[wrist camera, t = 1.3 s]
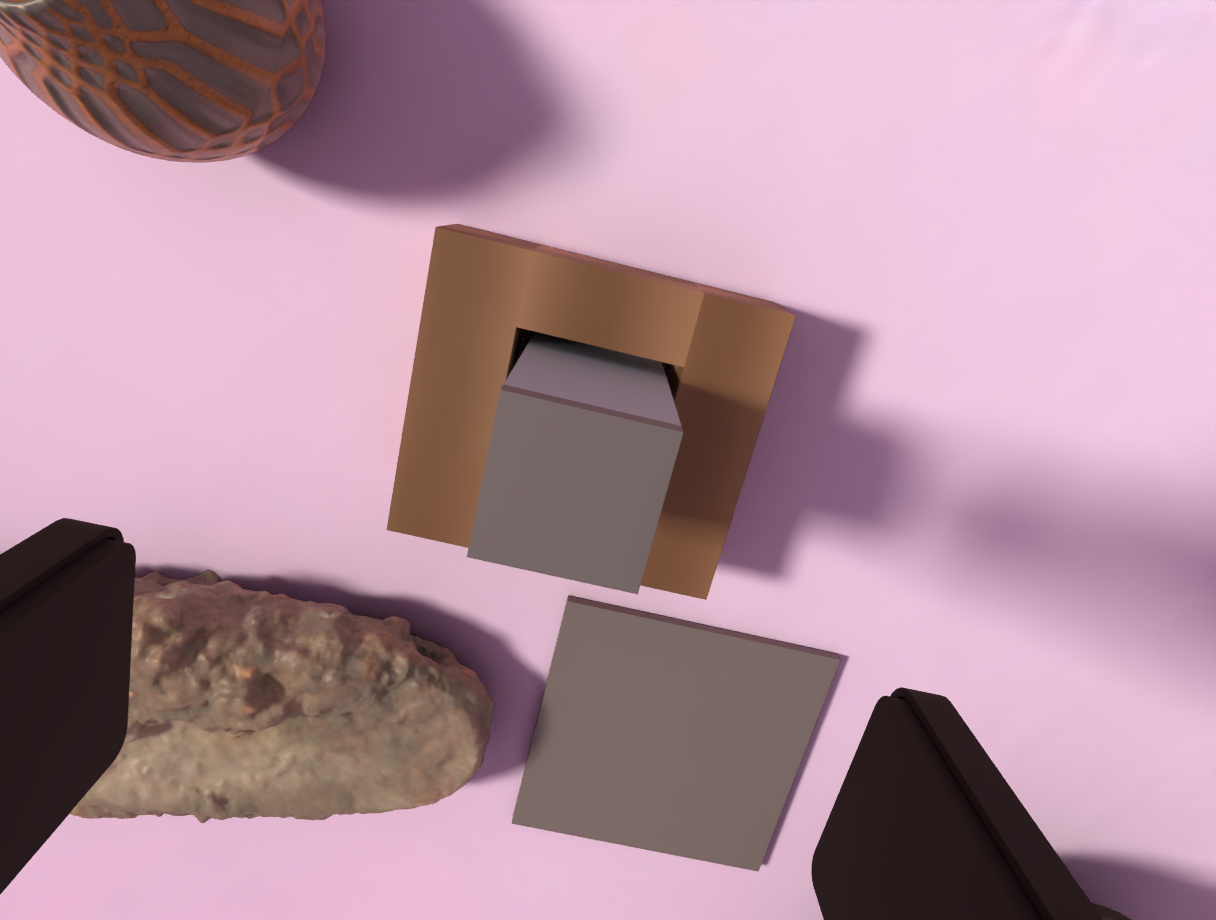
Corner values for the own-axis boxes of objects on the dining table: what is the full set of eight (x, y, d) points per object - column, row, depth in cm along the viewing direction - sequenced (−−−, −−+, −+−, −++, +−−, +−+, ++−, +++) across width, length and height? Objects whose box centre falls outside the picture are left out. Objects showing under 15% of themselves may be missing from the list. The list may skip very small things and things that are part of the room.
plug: (660, 356, 25) (683, 432, 17) (630, 471, 26) (637, 593, 18) (537, 327, 24) (500, 389, 16) (512, 445, 26) (467, 556, 18)
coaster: (837, 653, 28) (840, 660, 28) (756, 863, 31) (758, 871, 31) (568, 595, 27) (567, 601, 27) (513, 815, 30) (511, 823, 30)
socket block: (773, 302, 24) (795, 315, 21) (696, 557, 27) (706, 599, 24) (457, 223, 23) (435, 226, 20) (411, 493, 26) (386, 529, 23)
